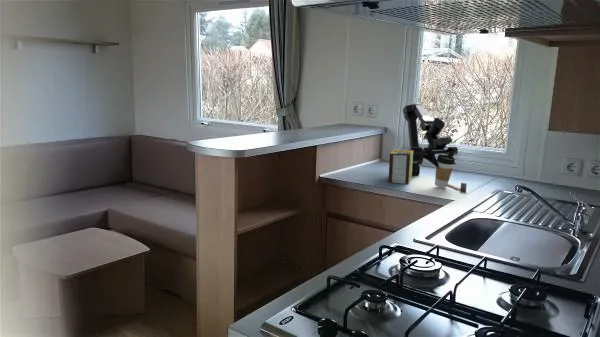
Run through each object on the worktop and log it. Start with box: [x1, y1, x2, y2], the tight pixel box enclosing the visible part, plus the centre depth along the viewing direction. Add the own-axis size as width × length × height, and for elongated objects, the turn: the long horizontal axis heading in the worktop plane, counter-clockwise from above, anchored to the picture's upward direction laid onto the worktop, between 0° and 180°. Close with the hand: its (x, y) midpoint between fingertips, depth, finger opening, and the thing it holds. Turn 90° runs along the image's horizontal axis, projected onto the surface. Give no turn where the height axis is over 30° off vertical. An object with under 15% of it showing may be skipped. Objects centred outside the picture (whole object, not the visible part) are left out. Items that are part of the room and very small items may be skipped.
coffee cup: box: [434, 154, 456, 189], centre depth 225 cm, size 8×8×15 cm
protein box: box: [388, 148, 413, 185], centre depth 241 cm, size 10×15×16 cm
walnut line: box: [447, 182, 468, 193], centre depth 228 cm, size 20×3×4 cm, turn 15°
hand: (445, 166), depth 224 cm, fingers closed on coffee cup, 8 cm apart
